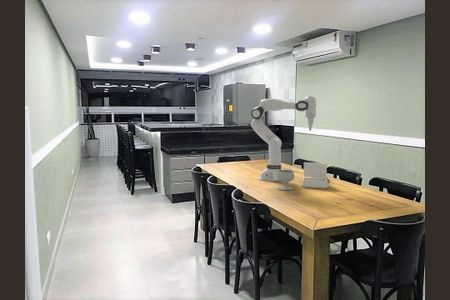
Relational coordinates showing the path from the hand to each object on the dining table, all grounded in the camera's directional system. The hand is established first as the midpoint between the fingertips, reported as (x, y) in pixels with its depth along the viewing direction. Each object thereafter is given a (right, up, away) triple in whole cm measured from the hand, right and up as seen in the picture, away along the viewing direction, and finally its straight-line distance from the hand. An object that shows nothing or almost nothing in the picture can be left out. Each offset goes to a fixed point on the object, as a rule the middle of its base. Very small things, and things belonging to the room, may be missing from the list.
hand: (310, 130), depth 294 cm
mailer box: (0, -49, -14) cm, 50 cm away
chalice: (-27, -50, -25) cm, 62 cm away
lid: (+1, -35, -11) cm, 37 cm away
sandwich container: (+12, -46, +10) cm, 49 cm away
